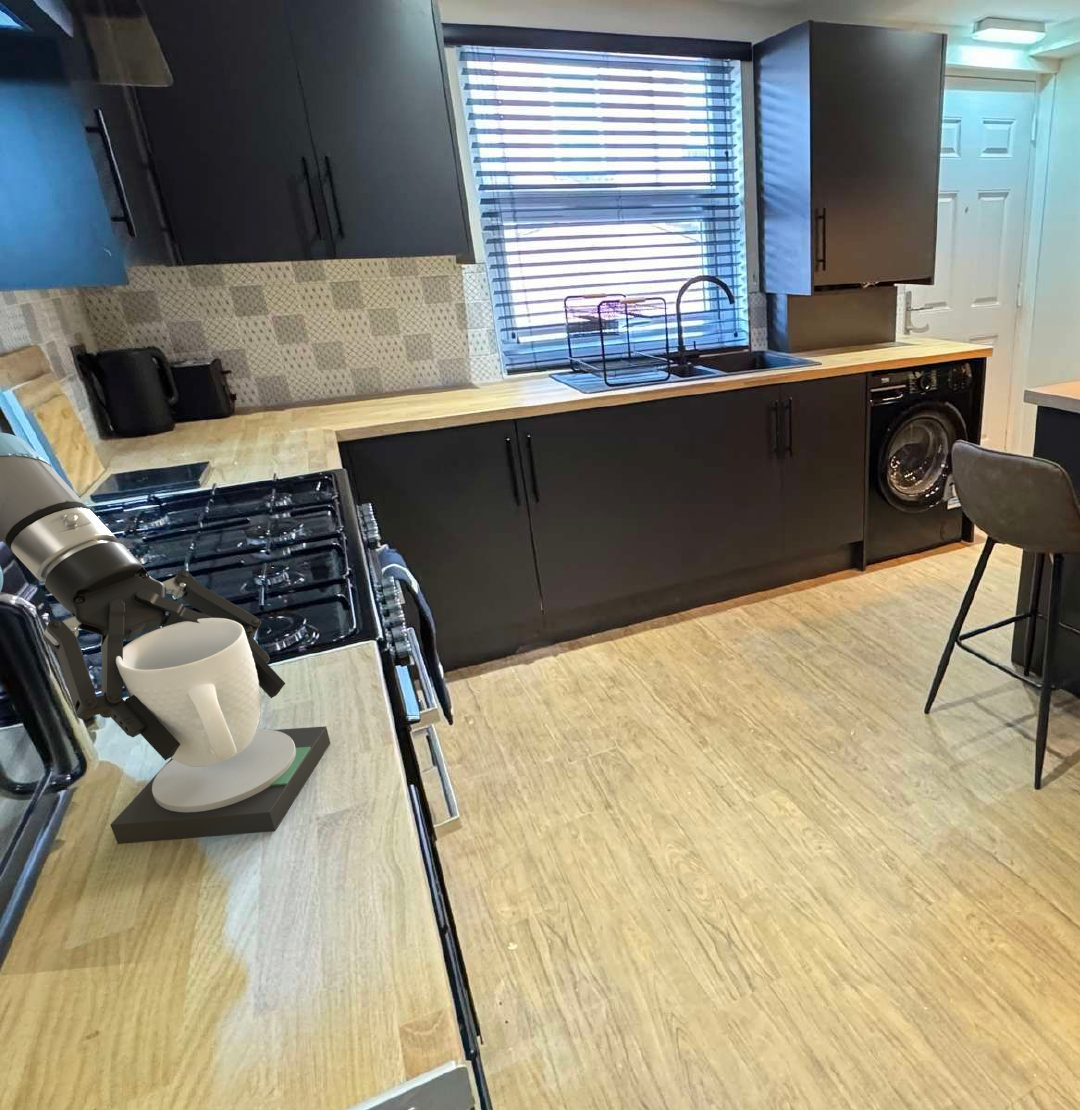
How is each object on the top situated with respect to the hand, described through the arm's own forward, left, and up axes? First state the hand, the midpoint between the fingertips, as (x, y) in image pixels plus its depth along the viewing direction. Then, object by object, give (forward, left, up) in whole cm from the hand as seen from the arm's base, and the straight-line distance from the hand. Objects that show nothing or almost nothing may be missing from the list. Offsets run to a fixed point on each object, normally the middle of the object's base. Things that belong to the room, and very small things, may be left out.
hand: (229, 719), depth 81 cm
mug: (-3, +1, -5) cm, 6 cm away
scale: (-2, +1, -10) cm, 10 cm away
